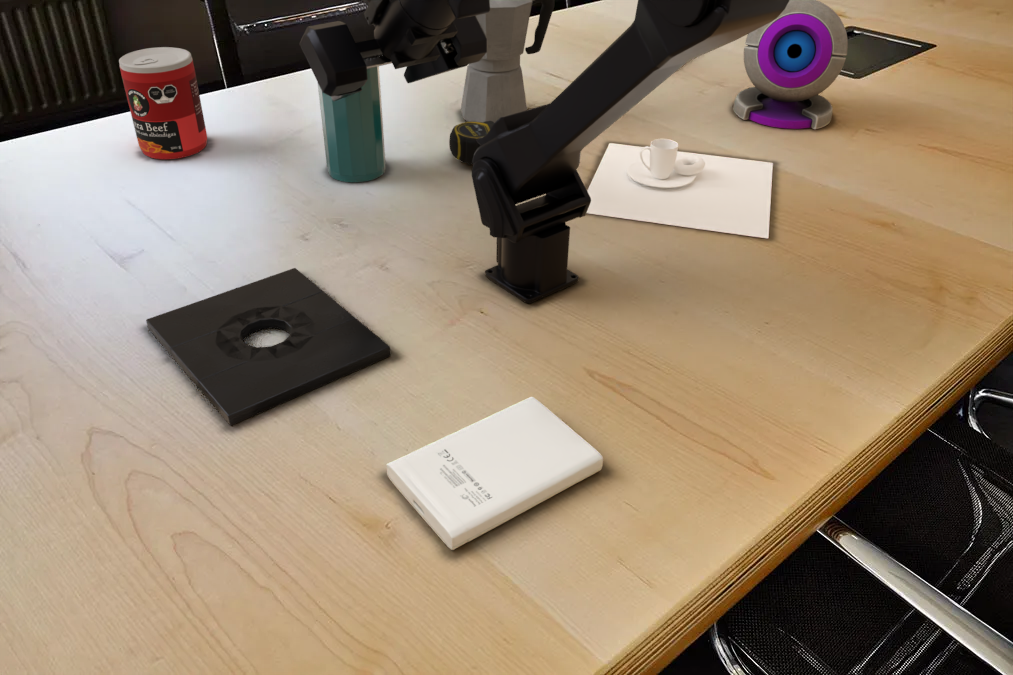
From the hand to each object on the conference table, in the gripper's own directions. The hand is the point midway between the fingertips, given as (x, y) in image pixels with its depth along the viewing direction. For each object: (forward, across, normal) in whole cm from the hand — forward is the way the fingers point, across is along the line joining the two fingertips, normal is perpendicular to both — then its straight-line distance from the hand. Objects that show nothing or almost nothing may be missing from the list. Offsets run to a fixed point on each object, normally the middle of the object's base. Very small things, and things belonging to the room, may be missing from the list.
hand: (370, 87), depth 91 cm
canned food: (+24, +14, -9) cm, 29 cm away
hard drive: (-24, +19, +39) cm, 50 cm away
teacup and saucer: (-7, -27, +23) cm, 36 cm away
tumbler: (+11, 0, +5) cm, 12 cm away
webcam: (-2, -56, +18) cm, 59 cm away
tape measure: (+7, -14, +9) cm, 18 cm away
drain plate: (-7, +24, +22) cm, 33 cm away
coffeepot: (+14, -25, +2) cm, 29 cm away
